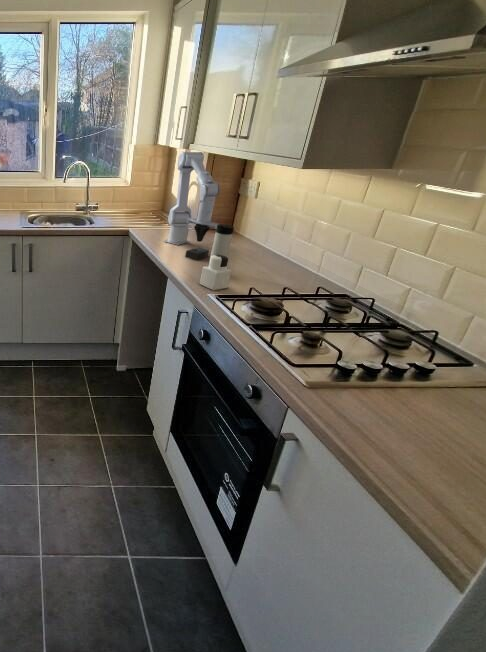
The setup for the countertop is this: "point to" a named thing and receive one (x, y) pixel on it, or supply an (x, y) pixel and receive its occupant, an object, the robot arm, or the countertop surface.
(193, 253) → the black notched block
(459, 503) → the countertop surface
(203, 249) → the grey t-shaped block
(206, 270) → the white block with post
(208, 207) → the robot arm
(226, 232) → the travel mug
